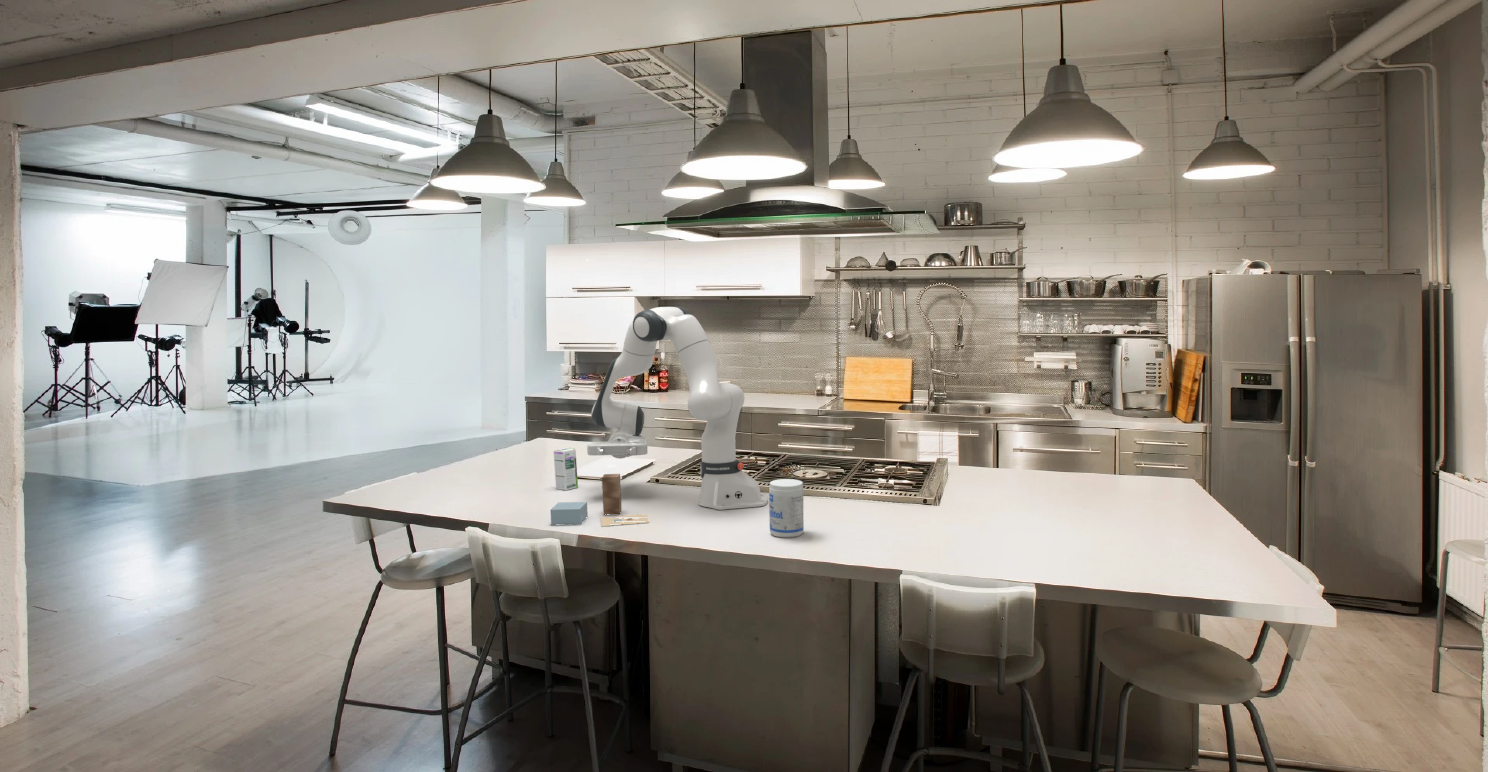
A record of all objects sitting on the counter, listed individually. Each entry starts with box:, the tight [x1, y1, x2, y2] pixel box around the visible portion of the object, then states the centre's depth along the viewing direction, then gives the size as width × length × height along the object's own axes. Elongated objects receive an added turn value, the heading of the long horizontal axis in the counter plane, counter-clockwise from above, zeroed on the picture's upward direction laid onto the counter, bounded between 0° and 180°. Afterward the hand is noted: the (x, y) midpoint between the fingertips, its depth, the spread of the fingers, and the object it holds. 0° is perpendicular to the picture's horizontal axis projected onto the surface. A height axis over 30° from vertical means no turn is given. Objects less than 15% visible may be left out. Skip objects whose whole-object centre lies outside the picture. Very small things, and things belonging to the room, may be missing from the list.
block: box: [601, 473, 623, 516], centre depth 252 cm, size 5×5×12 cm
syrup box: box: [553, 447, 579, 491], centre depth 289 cm, size 6×6×14 cm
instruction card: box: [600, 514, 650, 527], centre depth 243 cm, size 14×10×1 cm
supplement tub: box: [768, 478, 805, 539], centre depth 223 cm, size 10×10×15 cm
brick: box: [550, 501, 589, 526], centre depth 244 cm, size 9×9×5 cm
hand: (615, 452), depth 263 cm, fingers open, 8 cm apart
